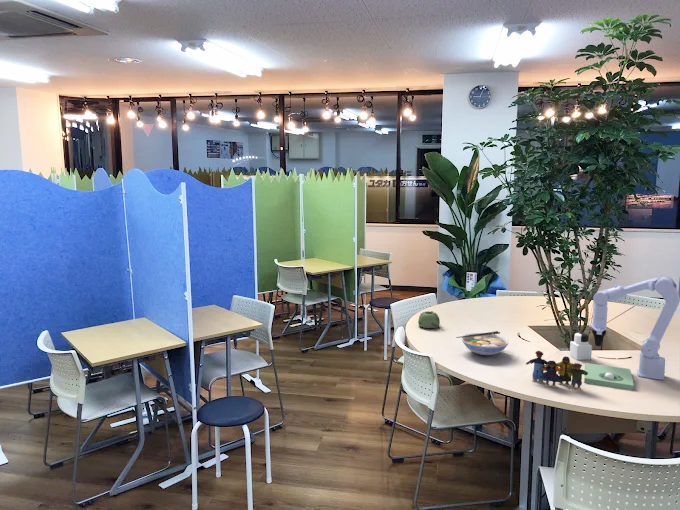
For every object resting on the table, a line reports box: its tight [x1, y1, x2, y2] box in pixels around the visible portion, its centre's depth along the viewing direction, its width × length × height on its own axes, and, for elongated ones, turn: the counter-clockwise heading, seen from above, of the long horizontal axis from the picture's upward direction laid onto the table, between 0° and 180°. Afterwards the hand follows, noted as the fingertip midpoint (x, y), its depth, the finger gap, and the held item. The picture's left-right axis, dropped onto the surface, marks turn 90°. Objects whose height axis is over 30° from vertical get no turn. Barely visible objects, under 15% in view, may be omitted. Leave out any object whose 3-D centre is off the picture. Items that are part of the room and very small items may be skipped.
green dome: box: [417, 310, 441, 329], centre depth 292 cm, size 16×13×9 cm
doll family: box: [525, 350, 588, 391], centre depth 204 cm, size 23×9×13 cm, turn 76°
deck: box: [583, 362, 635, 391], centre depth 211 cm, size 18×20×2 cm
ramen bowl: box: [456, 330, 509, 356], centre depth 243 cm, size 25×23×8 cm
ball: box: [605, 373, 614, 379], centre depth 207 cm, size 4×4×4 cm
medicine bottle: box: [569, 332, 593, 361], centre depth 235 cm, size 7×7×12 cm
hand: (597, 345), depth 225 cm, fingers closed
